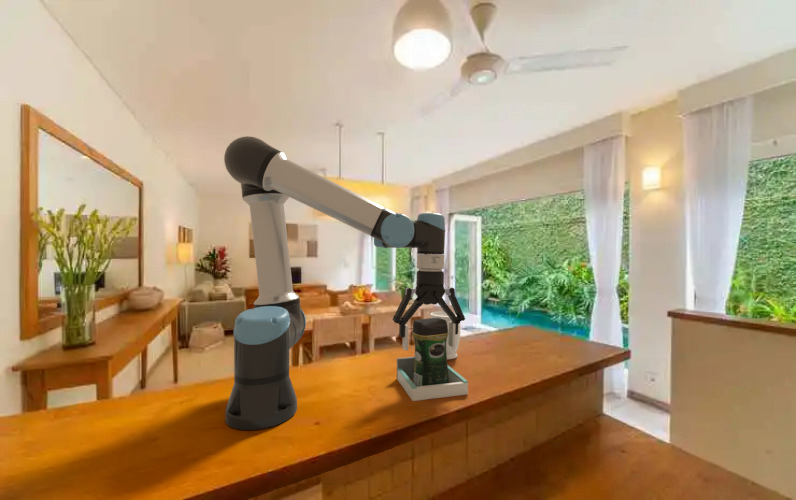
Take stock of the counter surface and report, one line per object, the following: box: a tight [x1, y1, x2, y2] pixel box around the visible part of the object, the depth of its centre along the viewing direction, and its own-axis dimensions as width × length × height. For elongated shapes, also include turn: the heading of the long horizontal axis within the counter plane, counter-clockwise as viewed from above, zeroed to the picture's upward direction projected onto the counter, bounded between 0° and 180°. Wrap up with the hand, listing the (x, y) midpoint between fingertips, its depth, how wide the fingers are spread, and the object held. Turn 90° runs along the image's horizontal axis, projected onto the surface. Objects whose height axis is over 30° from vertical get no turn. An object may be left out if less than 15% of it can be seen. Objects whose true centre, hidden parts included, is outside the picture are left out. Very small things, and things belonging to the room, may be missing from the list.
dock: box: [396, 356, 469, 402], centre depth 93 cm, size 15×15×6 cm
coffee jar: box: [411, 317, 450, 387], centre depth 93 cm, size 10×8×19 cm
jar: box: [429, 310, 461, 360], centre depth 120 cm, size 11×10×15 cm
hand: (428, 347), depth 93 cm, fingers open, 13 cm apart
